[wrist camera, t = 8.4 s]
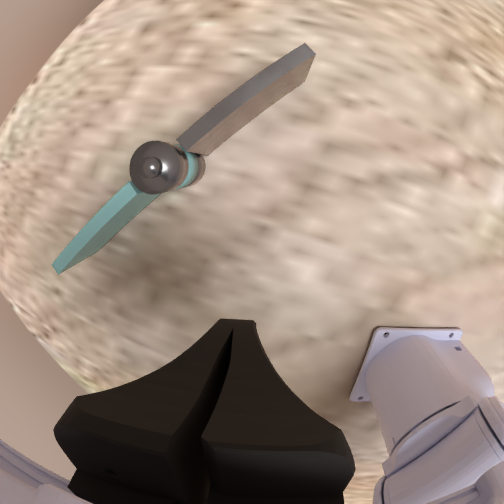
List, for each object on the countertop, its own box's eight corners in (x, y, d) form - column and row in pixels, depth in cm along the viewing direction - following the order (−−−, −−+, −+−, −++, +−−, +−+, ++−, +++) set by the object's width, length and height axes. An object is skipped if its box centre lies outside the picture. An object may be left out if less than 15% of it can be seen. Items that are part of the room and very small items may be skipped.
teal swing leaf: (189, 139, 17) (161, 130, 12) (212, 170, 18) (191, 171, 13) (85, 234, 20) (44, 253, 15) (103, 261, 20) (66, 285, 15)
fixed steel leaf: (184, 194, 19) (146, 207, 13) (160, 165, 18) (114, 167, 12) (313, 91, 16) (332, 58, 10) (287, 63, 16) (294, 20, 10)
